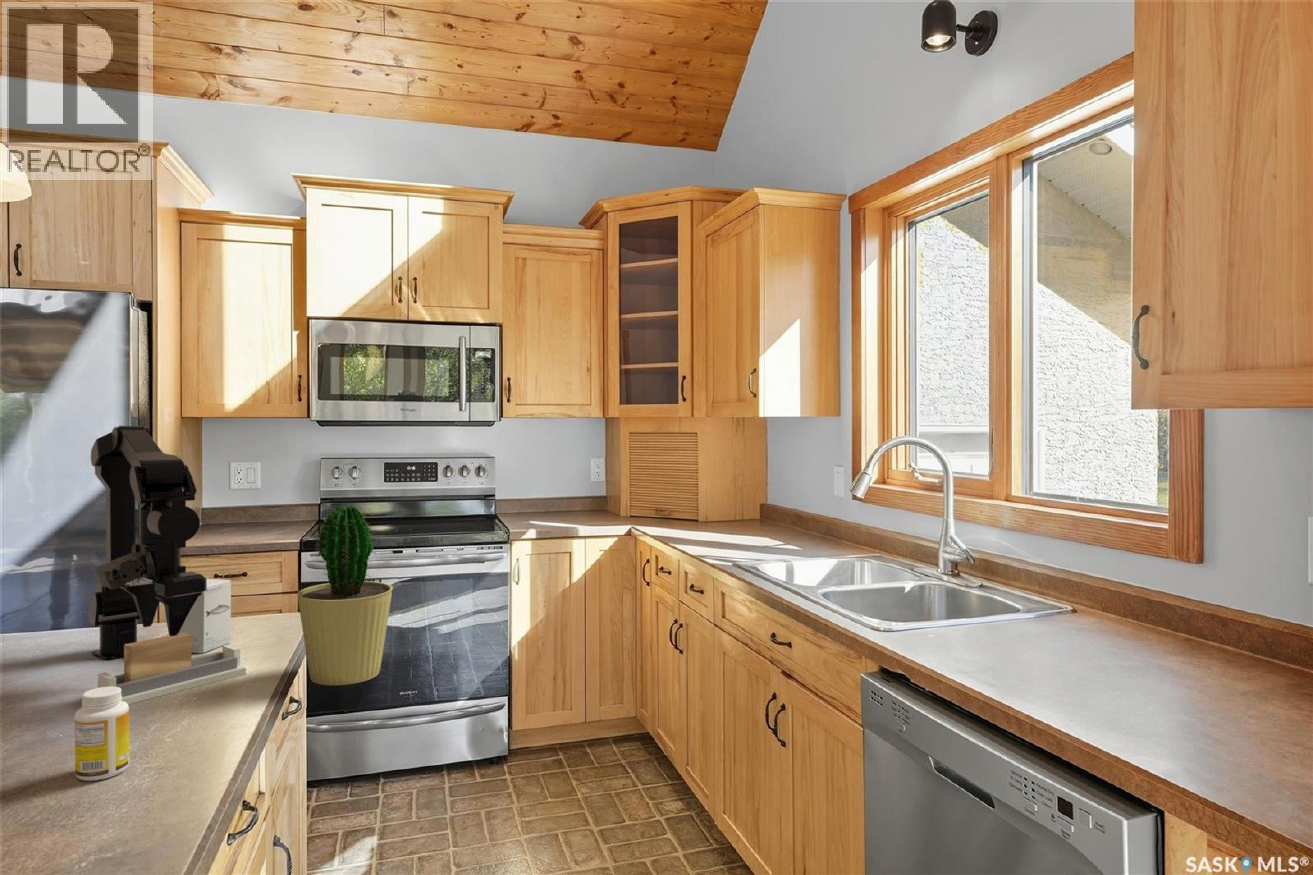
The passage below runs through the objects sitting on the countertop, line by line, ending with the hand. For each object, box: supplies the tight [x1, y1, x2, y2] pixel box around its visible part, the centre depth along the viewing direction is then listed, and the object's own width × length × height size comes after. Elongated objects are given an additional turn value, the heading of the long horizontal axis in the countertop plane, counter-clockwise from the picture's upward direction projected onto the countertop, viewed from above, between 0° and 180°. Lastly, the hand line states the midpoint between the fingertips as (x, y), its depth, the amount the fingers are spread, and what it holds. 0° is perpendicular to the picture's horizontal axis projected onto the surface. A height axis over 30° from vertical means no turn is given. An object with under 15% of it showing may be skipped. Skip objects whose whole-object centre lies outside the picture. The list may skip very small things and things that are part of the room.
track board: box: [97, 644, 247, 705], centre depth 129 cm, size 8×20×4 cm, turn 146°
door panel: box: [123, 632, 192, 683], centre depth 127 cm, size 2×9×7 cm, turn 146°
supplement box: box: [178, 578, 232, 654], centre depth 150 cm, size 7×7×13 cm
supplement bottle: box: [74, 686, 131, 782], centre depth 97 cm, size 6×6×10 cm
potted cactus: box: [297, 504, 394, 686], centre depth 135 cm, size 15×15×30 cm
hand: (160, 631), depth 127 cm, fingers open, 9 cm apart
